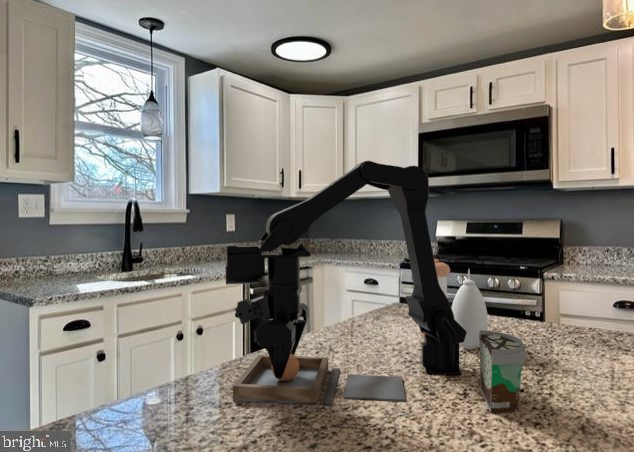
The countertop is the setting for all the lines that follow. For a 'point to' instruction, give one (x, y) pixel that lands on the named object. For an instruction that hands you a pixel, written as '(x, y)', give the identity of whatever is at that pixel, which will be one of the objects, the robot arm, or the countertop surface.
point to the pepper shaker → (441, 277)
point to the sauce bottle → (470, 312)
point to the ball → (290, 369)
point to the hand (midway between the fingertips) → (284, 368)
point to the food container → (500, 370)
